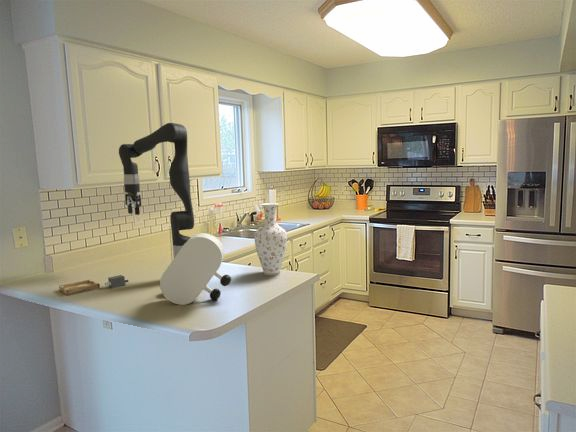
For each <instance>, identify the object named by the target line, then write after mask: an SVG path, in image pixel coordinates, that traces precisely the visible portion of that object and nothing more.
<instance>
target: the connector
mask: <svg viewBox="0 0 576 432" xmlns="http://www.w3.org/2000/svg"><path fill="white" fill-rule="evenodd" d="M107 279H108V281H106V282H104V285H105V286H107V287H108V288H111V289H115V288H120V287H125V286H126V283H129V279H125V276H124V275H122V274H120V275H118V274H117V275H114V276H109V277H108V278H107Z"/></svg>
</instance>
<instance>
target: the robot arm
mask: <svg viewBox="0 0 576 432" xmlns="http://www.w3.org/2000/svg"><path fill="white" fill-rule="evenodd" d="M167 142H169V143H170V144H171V143H172V144H174V157H173V159H172V161H171V164H170V165H169V171H168V173H169V175H168V176H169V183H170V186H171V188H172V189H173V191H174V192H175V194H177V196H178V197H179V199H180V200H181V201H182V203H183V206H184V210H179V211H172V212H171V213H170V217H169V219H170V220H169V221H170V230H171V243H172V259H174V258H175V256H176V255H177V254H178V252H179V251H180V250H181V248H182V247H183V245H184V244H185V243H186V242H187V241H188V240H189V239H190V238H191V237H192V236H188V235H183V234H181V233H180V231H185V230H186V231H187V230H188V231H189V230H192V229H194V227H195V217H194V216H195V215H194V209H193V203H192V194H191V184H190V182H191V181H190V172H189V171H190V170H189V162H188V161H189V160H188V158H189V157H188V131H187V128H186V126H184V125H182V124H180V123H174V122H168V123H165V124H164V125H162V126H161V127H159V128H158V129H156V130H155V131H153V132H151V133H150V134H148V135H145V136H144V137H141V138H139V139H136V140H135V141H134V142H133V143H123V144H121V145H120V146H119V148H118V157H119V158H120V162H121V164H122V166H123V186H124V187H123V188H124V193H125V194H124V200H125V201H124V202H125V206H126V207H127V212H128V214H129V215H131V214H133V212H134V215H136V216H139V215H140V213H141V211H140V207H142V199H141V196H142V195H141V194H138V193H139V192H141V190H140V189H141V188H140V176H139V168H138V167H139V166H138V164H137V163H136V162H133V160H132V159H134V158H135V159H137V158H138V157H140V156H141V155H143V154H144V153H147V152H150V151H152V150H154V149H155V148H156V146H157V145H158V144H160V143H167ZM133 206H134V210H133Z"/></svg>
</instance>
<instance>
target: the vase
mask: <svg viewBox="0 0 576 432" xmlns="http://www.w3.org/2000/svg"><path fill="white" fill-rule="evenodd" d="M278 205H279V203H277V202H268V203H267V202H266V203H260V206H262V208H263V210H264V222H263V224H262V225H261V226H260V227H259V228H258V229H256V231H255V233H254V247H255V251H256V253H257V257H258V259H259V263H260V265H261V268H262V271H263V275H265V276H276V275H280V274H281V268H282V265H283V261H284V257H285V255H286V251H287V243H288V234H287V231H286V229H285V228H284V227H281V226H280V225H279V224H278V222H277V219H276V210H277V207H278Z"/></svg>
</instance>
